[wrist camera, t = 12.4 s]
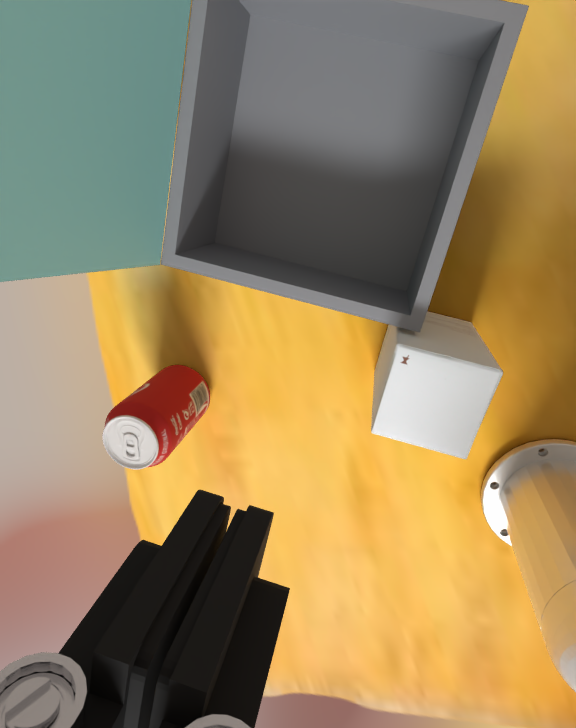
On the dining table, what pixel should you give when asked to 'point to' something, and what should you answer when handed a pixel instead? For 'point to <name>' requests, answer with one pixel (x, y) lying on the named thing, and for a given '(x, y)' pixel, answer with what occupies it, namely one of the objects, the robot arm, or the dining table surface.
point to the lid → (86, 132)
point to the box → (333, 144)
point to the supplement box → (434, 385)
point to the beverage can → (155, 417)
